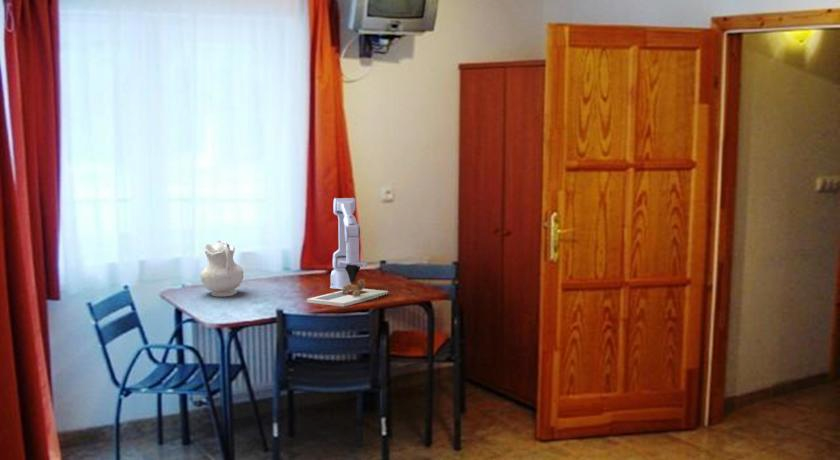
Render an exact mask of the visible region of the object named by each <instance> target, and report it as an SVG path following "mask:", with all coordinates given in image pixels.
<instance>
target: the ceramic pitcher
mask: <svg viewBox="0 0 840 460" xmlns="http://www.w3.org/2000/svg"><path fill="white" fill-rule="evenodd" d="M235 251H236V248H235V247H234V246H233V245H230V244H228V242H226V241H224V240H218V241H216V243H215V244H214V245H212V244H211V243H206V244H205V245H204V253H205V255H206V257H207V265H206V266H205V267H204V268H203V269H202V270H201V272H200V281H201V283H202V285H203V287H204V288H205V289H207V290H208V291H210V292H212V293H211V296H214V297H230V296H234V295H236V294H238V291H237V290H236V289H237V288H238V287H239V286H240V285H241V284H242V283H243V280H244V270H243V268H242V266H240V265H239V264H237V263H236V262H235V261H234V254H235Z"/></svg>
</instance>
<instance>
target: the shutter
mask: <svg viewBox="0 0 840 460" xmlns="http://www.w3.org/2000/svg"><path fill="white" fill-rule="evenodd" d="M375 290H376V291H372V292H365V293H361V291H352V295H353V298H360V299H365V298H369V297H373V296H377V295H380V294H384V293H387V294H389V291H388V290H383V289H381V290H380V289H375Z"/></svg>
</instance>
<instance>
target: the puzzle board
mask: <svg viewBox="0 0 840 460" xmlns="http://www.w3.org/2000/svg"><path fill="white" fill-rule="evenodd" d="M376 290H377V289H370V288H363V289H362V290H360V292H361V291H362V292H366V293H368V292H372V291H376ZM342 292H343V290H339V291H334V292H330V293H326V294H322V295H317V296H314V297H309V298H306V303H309V304H319V305H326V306H335V307H343V308H344V307H347V306H350V305H355V304H358V303H362V302H366V301H370V300H373V299H377V298H380V297H382V295H383V296H385V294H386V295H387V294H388V293H384V294H380V295H377V296H373V297H369V298H365V299H360V298H353V294H349V295H347V291H346V292H345V293H344V294H342ZM350 292H352V291H351V290H349V293H350ZM379 296H380V297H379Z"/></svg>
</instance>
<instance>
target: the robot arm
mask: <svg viewBox="0 0 840 460" xmlns="http://www.w3.org/2000/svg"><path fill="white" fill-rule="evenodd" d="M332 205H333V214H334V215H335V216H337V219H338V221H337V222H338V223H337V224H338V225H337V226H338V249H337V250H336V251H334V252H333V254H332V268H333V270H331V273H330V287H329V288H330V289H332V290H333V289H335V290H343V288H344V286H345V285H347V284H350V285H352V283H355V282H356V280H357V277H358V276H357V275H358V273H359V271H360V270H361V268H367V267H368V262H365V261H360V239H359V238H360V236H361V226H360V224H359V223H358V222H357V218H356V217H355V216H354V215H353V214H354V212H355V211H356V199H355V198H354V197H351V198H350V197H342V198H338V197H334V199H333V204H332ZM344 289H345V288H344Z"/></svg>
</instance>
